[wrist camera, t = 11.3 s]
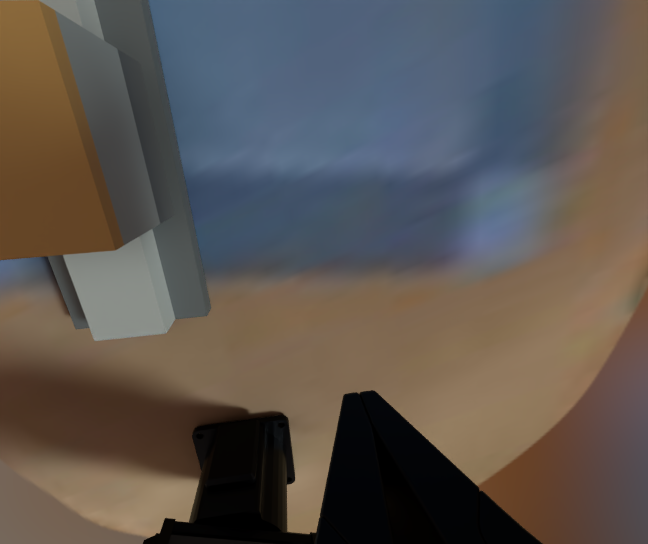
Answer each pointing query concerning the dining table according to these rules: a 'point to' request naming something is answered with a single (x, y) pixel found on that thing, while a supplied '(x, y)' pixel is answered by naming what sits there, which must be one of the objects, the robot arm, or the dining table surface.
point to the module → (72, 140)
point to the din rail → (181, 225)
